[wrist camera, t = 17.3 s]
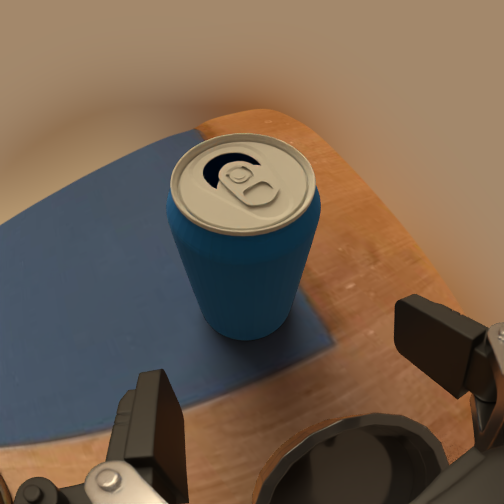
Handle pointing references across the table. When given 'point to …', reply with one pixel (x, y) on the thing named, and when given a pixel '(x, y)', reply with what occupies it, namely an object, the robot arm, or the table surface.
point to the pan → (353, 463)
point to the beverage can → (244, 229)
